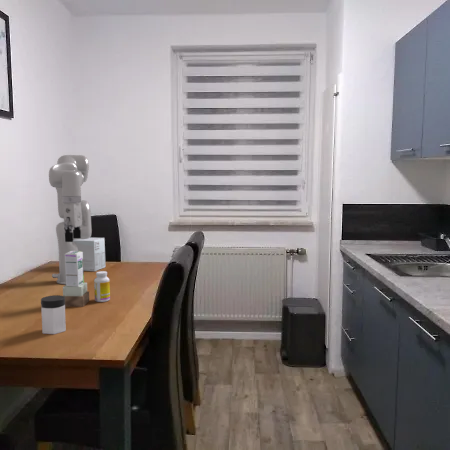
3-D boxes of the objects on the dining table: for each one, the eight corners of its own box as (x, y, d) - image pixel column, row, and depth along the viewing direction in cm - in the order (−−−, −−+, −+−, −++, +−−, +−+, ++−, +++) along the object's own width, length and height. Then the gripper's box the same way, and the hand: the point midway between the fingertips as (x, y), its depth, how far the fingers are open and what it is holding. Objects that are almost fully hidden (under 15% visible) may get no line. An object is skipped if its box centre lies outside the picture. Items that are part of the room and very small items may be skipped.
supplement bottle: (113, 299, 208) (112, 271, 206) (104, 303, 201) (103, 274, 200) (100, 297, 210) (99, 270, 208) (91, 301, 203) (90, 273, 202)
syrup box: (78, 287, 196) (77, 253, 194) (65, 286, 197) (64, 253, 195) (84, 283, 202) (83, 251, 200) (71, 282, 203) (70, 250, 200)
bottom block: (62, 307, 196) (61, 296, 196) (69, 301, 205) (68, 291, 205) (83, 307, 196) (82, 296, 196) (89, 301, 205) (89, 291, 205)
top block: (63, 296, 197) (62, 287, 196) (69, 291, 205) (68, 282, 204) (81, 296, 197) (81, 287, 196) (87, 291, 205) (86, 282, 204)
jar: (59, 324, 172) (58, 293, 171) (71, 329, 167) (70, 297, 166) (36, 331, 166) (35, 298, 164) (48, 336, 160) (47, 302, 159)
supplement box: (106, 267, 278) (105, 237, 275) (95, 271, 265) (94, 240, 263) (80, 265, 281) (79, 236, 279) (68, 270, 269) (67, 239, 266)
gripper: (73, 201, 186) (75, 243, 189) (87, 198, 204) (88, 237, 206) (55, 201, 187) (56, 243, 189) (70, 198, 204) (71, 236, 206)
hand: (73, 239), depth 197 cm, fingers open, 9 cm apart
